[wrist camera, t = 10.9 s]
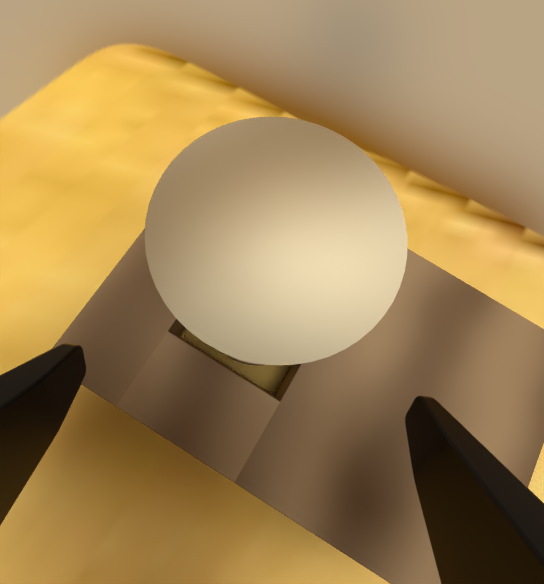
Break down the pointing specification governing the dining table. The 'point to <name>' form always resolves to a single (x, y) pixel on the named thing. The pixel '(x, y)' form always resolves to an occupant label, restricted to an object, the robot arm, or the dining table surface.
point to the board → (328, 404)
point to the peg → (276, 241)
